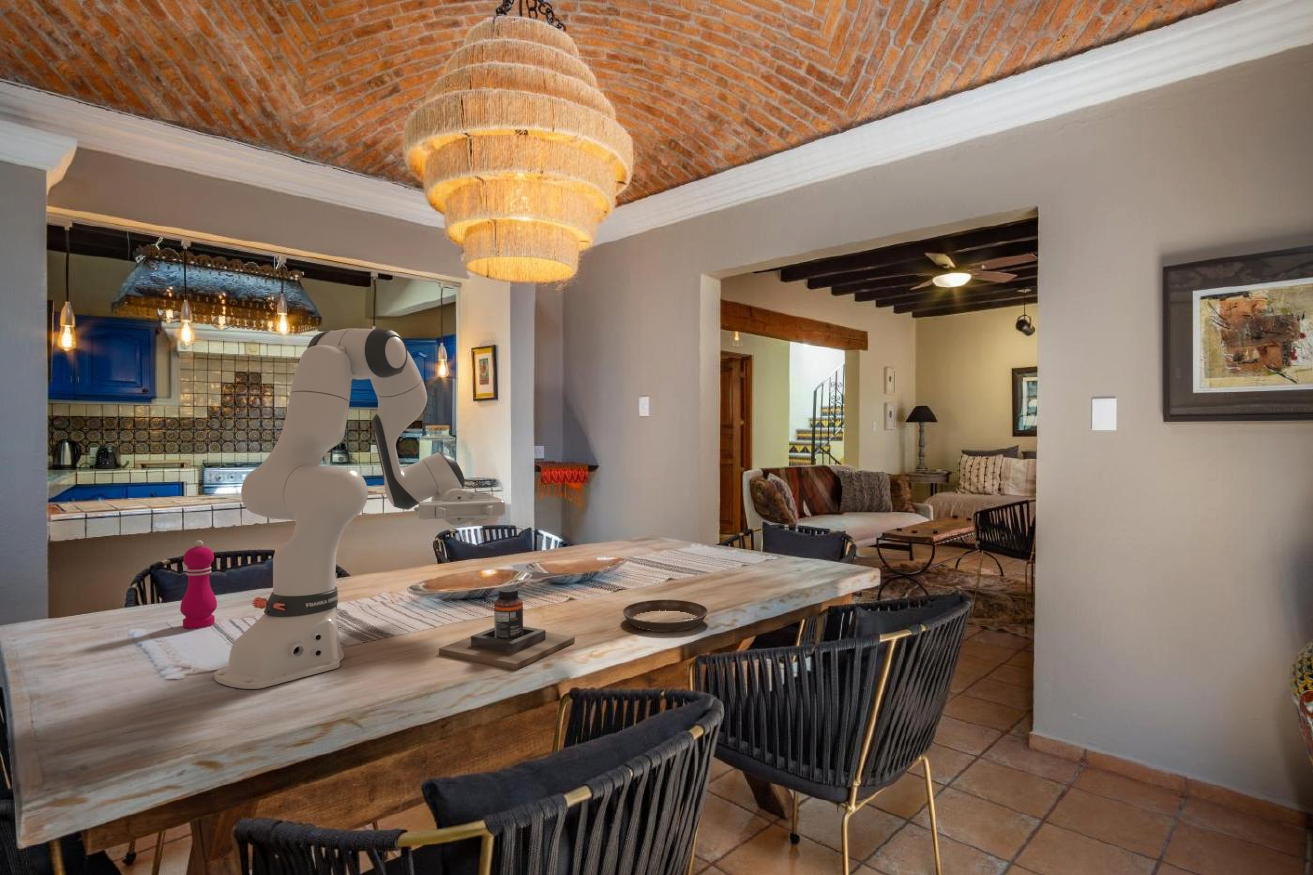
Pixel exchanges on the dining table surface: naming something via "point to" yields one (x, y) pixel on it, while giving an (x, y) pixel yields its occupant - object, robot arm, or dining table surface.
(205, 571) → the pepper mill
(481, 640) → the dock
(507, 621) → the supplement bottle
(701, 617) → the plant saucer
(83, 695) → the dining table surface
